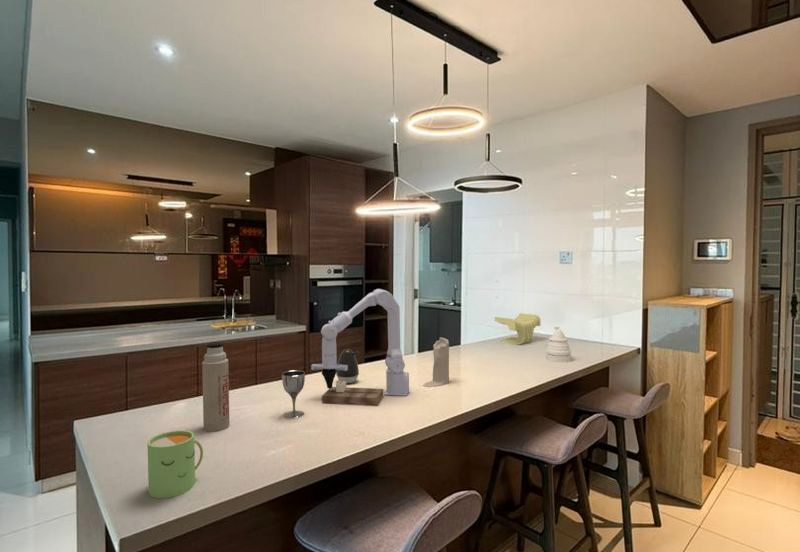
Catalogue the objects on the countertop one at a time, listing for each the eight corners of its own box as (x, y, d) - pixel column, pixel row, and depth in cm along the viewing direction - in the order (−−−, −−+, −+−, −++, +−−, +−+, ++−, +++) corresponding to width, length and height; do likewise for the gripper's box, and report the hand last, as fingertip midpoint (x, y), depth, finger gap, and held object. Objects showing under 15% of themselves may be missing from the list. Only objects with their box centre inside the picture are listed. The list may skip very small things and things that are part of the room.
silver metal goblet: (285, 419, 150) (284, 377, 150) (280, 412, 157) (279, 372, 157) (307, 415, 154) (307, 374, 153) (302, 409, 161) (301, 369, 160)
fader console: (383, 396, 176) (383, 388, 176) (377, 405, 164) (377, 397, 164) (331, 393, 179) (331, 386, 179) (322, 403, 168) (321, 395, 167)
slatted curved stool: (515, 347, 275) (515, 319, 274) (494, 343, 287) (494, 316, 286) (540, 341, 295) (540, 315, 294) (520, 338, 307) (520, 313, 306)
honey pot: (542, 357, 245) (542, 326, 244) (563, 356, 246) (563, 325, 246) (552, 362, 232) (552, 329, 232) (575, 362, 234) (575, 329, 233)
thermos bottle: (234, 425, 145) (233, 343, 144) (213, 433, 139) (211, 347, 138) (219, 420, 150) (218, 340, 149) (198, 428, 143) (196, 344, 142)
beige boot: (419, 384, 192) (419, 340, 191) (440, 379, 201) (440, 336, 200) (430, 388, 186) (430, 342, 186) (452, 382, 196) (452, 338, 195)
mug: (158, 503, 98) (157, 451, 98) (142, 487, 105) (141, 439, 105) (212, 482, 108) (211, 434, 107) (195, 469, 115) (194, 424, 114)
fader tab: (346, 389, 174) (346, 381, 174) (343, 392, 170) (343, 384, 170) (339, 389, 175) (339, 381, 175) (336, 392, 171) (336, 383, 171)
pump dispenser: (355, 385, 191) (355, 351, 190) (333, 384, 193) (332, 351, 192) (362, 379, 201) (361, 347, 200) (340, 378, 203) (340, 346, 202)
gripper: (349, 352, 176) (349, 385, 176) (315, 351, 178) (315, 384, 178) (344, 356, 169) (345, 390, 169) (309, 355, 171) (309, 389, 171)
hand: (329, 387), depth 173 cm, fingers closed
